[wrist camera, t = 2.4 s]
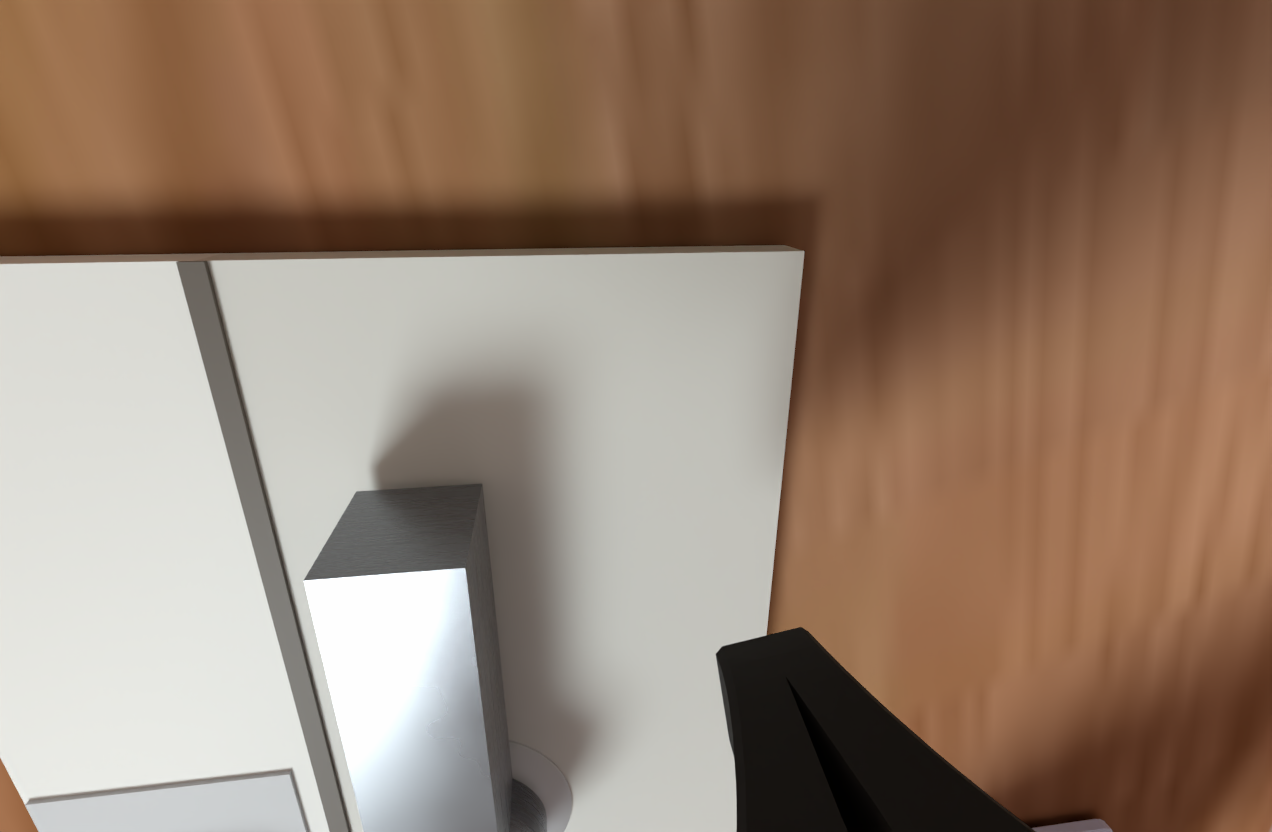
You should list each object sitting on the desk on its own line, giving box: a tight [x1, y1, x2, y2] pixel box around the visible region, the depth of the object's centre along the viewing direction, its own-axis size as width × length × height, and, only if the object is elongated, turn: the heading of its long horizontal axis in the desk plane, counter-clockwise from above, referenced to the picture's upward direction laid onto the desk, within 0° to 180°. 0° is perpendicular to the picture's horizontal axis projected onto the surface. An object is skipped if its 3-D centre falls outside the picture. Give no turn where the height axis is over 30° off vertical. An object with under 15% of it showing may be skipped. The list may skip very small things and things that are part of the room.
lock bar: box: [304, 484, 547, 832], centre depth 12 cm, size 11×4×3 cm, turn 0°
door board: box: [0, 245, 805, 832], centre depth 14 cm, size 16×24×3 cm, turn 0°
